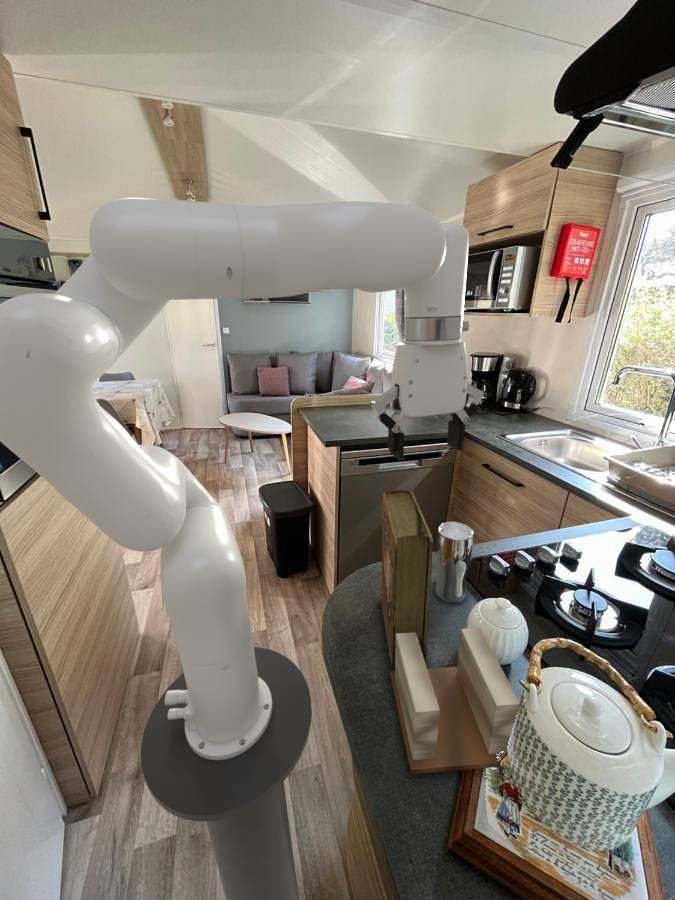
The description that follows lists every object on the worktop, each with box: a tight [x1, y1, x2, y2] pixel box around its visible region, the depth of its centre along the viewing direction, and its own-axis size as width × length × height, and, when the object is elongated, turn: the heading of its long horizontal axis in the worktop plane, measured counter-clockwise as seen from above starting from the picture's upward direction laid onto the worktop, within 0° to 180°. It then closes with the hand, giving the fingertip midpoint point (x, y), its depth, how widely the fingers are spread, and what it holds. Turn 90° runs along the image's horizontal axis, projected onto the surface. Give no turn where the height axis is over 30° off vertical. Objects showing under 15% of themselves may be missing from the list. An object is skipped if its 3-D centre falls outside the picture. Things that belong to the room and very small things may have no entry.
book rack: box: [389, 627, 520, 775], centre depth 54 cm, size 14×14×10 cm
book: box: [381, 488, 434, 667], centre depth 66 cm, size 16×6×25 cm, turn 0°
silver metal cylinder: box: [434, 521, 474, 603], centre depth 77 cm, size 7×7×15 cm
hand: (426, 451), depth 57 cm, fingers open, 9 cm apart
